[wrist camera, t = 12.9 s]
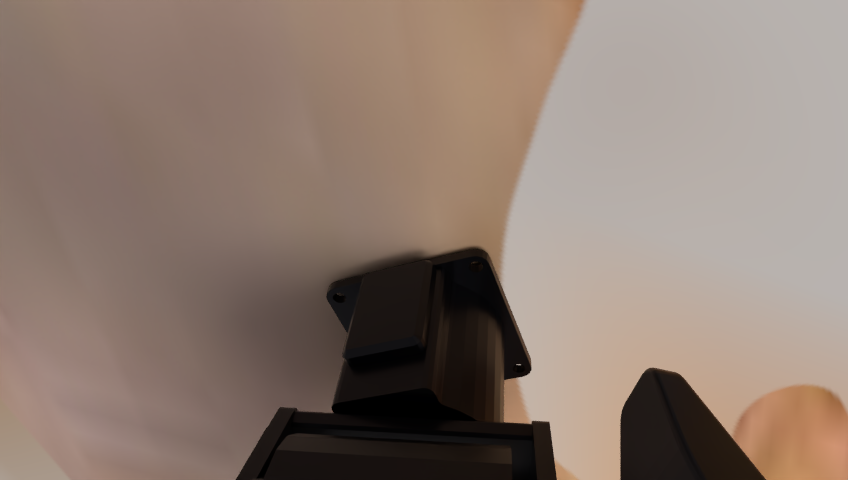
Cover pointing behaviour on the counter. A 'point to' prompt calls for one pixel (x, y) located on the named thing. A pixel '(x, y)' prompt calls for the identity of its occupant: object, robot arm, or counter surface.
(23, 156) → the counter surface
